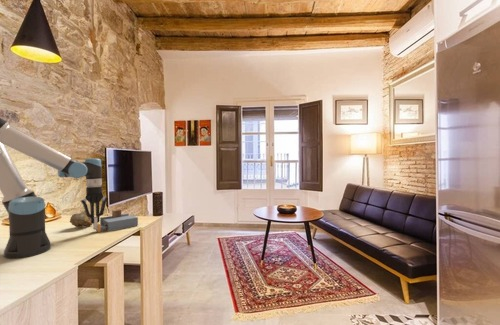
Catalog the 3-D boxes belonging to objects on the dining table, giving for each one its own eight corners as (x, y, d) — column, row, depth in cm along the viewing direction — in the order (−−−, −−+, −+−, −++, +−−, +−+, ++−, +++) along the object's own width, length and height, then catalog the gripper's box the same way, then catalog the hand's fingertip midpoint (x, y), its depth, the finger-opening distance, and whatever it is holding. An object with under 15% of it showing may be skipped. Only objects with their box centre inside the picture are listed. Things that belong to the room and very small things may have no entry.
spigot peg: (114, 225, 151) (114, 211, 151) (112, 224, 154) (112, 210, 154) (121, 224, 154) (121, 210, 154) (119, 223, 157) (119, 209, 157)
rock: (84, 229, 144) (84, 212, 144) (67, 229, 144) (66, 212, 144) (97, 224, 156) (97, 208, 156) (81, 224, 156) (81, 208, 156)
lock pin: (98, 232, 137) (97, 225, 137) (96, 230, 140) (95, 223, 140) (125, 227, 147) (125, 220, 147) (123, 225, 150) (122, 219, 150)
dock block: (108, 231, 140) (108, 222, 140) (100, 225, 152) (100, 217, 152) (137, 225, 151) (137, 217, 151) (128, 221, 163) (127, 213, 163)
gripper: (81, 188, 131) (83, 232, 131) (109, 185, 140) (110, 227, 140) (78, 187, 136) (80, 230, 136) (105, 184, 145) (106, 225, 146)
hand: (95, 228), depth 138 cm, fingers closed
